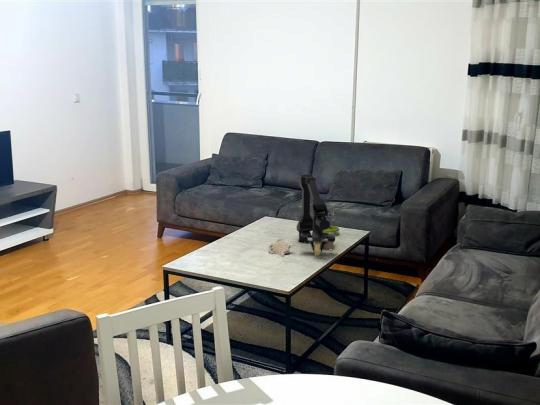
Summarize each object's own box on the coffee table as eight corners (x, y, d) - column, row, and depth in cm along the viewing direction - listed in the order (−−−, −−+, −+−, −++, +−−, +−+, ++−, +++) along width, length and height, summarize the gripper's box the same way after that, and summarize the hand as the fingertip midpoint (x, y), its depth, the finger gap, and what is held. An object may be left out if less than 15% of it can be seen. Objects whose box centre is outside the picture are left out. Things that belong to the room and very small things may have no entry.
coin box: (314, 249, 341) (315, 237, 339) (316, 243, 350) (316, 231, 349) (332, 249, 340) (333, 237, 338) (333, 244, 349) (333, 232, 347)
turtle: (294, 258, 336) (297, 240, 337) (289, 257, 327) (292, 239, 328) (268, 254, 341) (271, 236, 342) (262, 253, 332) (265, 235, 333)
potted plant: (313, 234, 367) (313, 210, 363) (322, 229, 377) (322, 205, 374) (334, 238, 360) (335, 213, 356) (342, 232, 371) (343, 208, 367)
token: (314, 255, 331) (315, 246, 330) (315, 252, 336) (315, 243, 334) (319, 255, 330) (319, 246, 329) (320, 252, 335) (320, 244, 334)
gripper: (299, 228, 322) (299, 256, 326) (335, 229, 320) (334, 258, 324) (301, 222, 333) (300, 249, 337) (335, 223, 331) (334, 251, 334)
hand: (317, 252), depth 333 cm, fingers open, 4 cm apart
